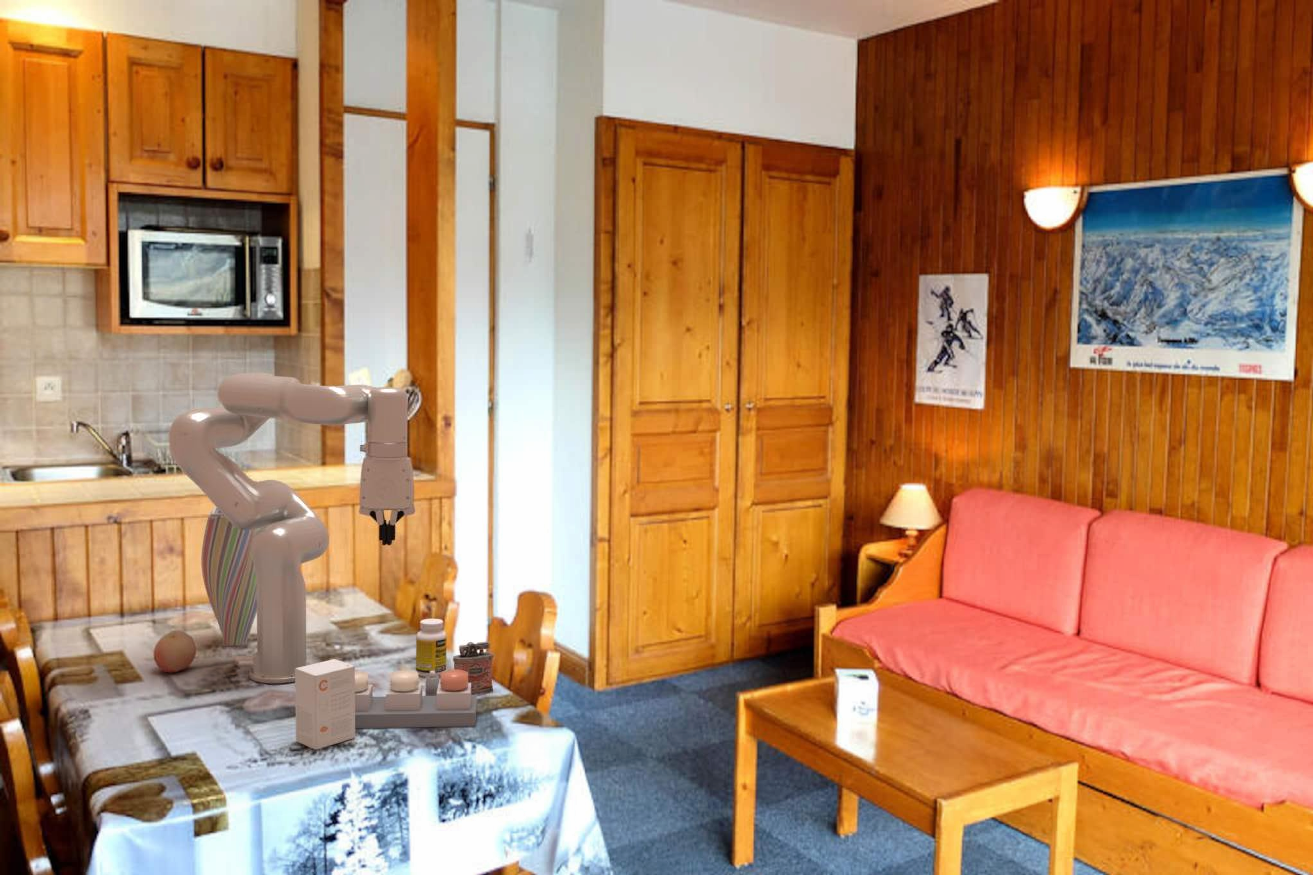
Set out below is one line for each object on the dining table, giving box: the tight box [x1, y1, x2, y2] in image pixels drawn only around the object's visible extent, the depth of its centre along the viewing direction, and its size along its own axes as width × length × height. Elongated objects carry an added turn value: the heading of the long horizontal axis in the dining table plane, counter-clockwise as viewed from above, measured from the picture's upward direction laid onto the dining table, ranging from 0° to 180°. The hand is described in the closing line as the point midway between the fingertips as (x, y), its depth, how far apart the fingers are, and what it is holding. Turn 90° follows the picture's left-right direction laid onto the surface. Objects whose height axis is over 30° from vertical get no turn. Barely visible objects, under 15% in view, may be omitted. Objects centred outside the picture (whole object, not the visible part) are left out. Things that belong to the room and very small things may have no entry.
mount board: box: [355, 682, 478, 729], centre depth 209 cm, size 26×10×6 cm, turn 97°
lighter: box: [452, 641, 494, 696], centre depth 225 cm, size 8×3×10 cm, turn 117°
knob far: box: [439, 669, 468, 691], centre depth 210 cm, size 5×5×5 cm
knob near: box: [355, 670, 369, 692], centre depth 208 cm, size 5×5×5 cm
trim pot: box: [424, 670, 440, 696], centre depth 218 cm, size 3×3×6 cm
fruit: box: [153, 630, 197, 674], centre depth 234 cm, size 8×8×8 cm
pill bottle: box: [415, 618, 448, 678], centre depth 236 cm, size 6×6×11 cm
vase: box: [200, 507, 263, 647], centre depth 254 cm, size 14×14×30 cm
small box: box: [294, 658, 356, 751], centre depth 197 cm, size 8×6×13 cm
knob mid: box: [389, 669, 419, 692], centre depth 209 cm, size 5×5×5 cm
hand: (387, 543), depth 223 cm, fingers closed
